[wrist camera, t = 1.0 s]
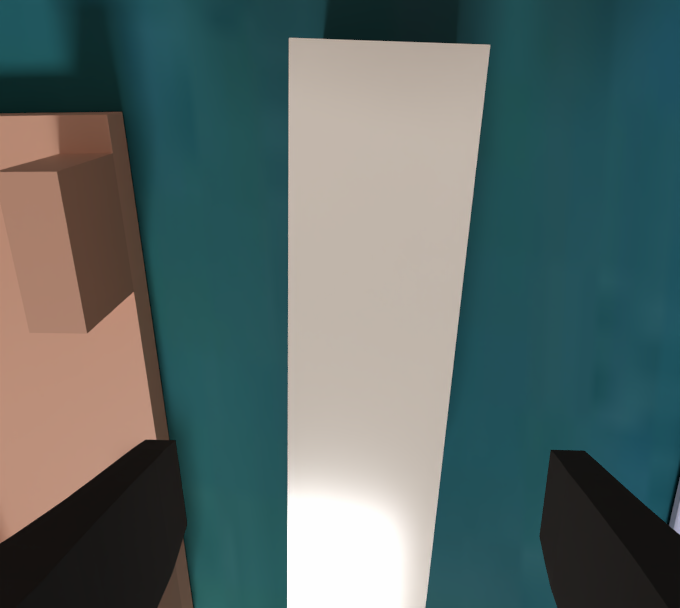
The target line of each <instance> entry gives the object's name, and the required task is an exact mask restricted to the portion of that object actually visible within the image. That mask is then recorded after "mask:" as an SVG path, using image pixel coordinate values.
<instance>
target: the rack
mask: <svg viewBox="0 0 680 608" xmlns="http://www.w3.org/2000/svg"><path fill="white" fill-rule="evenodd" d="M144 440H169V435H168V428H167V421H166V414H165V407H164V400H163V393H162V386H161V379H160V372H159V365H158V358H157V351H156V344H155V337H154V330H153V323H152V316H151V309H150V302H149V296H148V289H147V282H146V275H145V268H144V261H143V254H142V247H141V240H140V233H139V226H138V219H137V212H136V205H135V198H134V191H133V184H132V177H131V170H130V163H129V156H128V149H127V142H126V135H125V128H124V121H123V114H122V112H72V113H0V543H1V542H3V541H5V540H6V539H8V538H9V537H11V536H12V535H14V534H15V533H17V532H18V531H20V530H21V529H23V528H24V527H26V526H27V525H29V524H30V523H31V522H33V521H34V520H36V519H37V518H39V517H40V516H42V515H43V514H45V513H46V512H47V511H49V510H50V509H52V508H53V507H55V506H56V505H58V504H59V503H61V502H62V501H63V500H65V499H66V498H67V497H69V496H70V495H71V494H73V493H74V492H75V491H77V490H78V489H79V488H81V487H82V486H84V485H85V484H86V483H88V482H89V481H90V480H92V479H93V478H94V477H96V476H97V475H98V474H100V473H101V472H102V471H103V470H105V469H106V468H107V467H109V466H110V465H111V464H113V463H114V462H115V461H117V460H118V459H119V458H120V457H122V456H123V455H124V454H126V453H127V452H128V451H130V450H131V449H133V448H134V447H135V446H137V445H138V444H140V443H141V442H143V441H144ZM158 608H193V603H192V596H191V589H190V582H189V575H188V568H187V561H186V554H185V547H184V540H182V544H181V547H180V551H179V554H178V557H177V560H176V564H175V567H174V570H173V573H172V575H171V578H170V580H169V582H168V585H167V587H166V589H165V592H164V594H163V596H162V599H161V601H160V603H159V605H158Z"/></svg>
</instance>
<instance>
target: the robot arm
mask: <svg viewBox="0 0 680 608" xmlns="http://www.w3.org/2000/svg"><path fill="white" fill-rule="evenodd" d="M186 526H187V519H186V512H185V505H184V498H183V491H182V483H181V476H180V469H179V462H178V455H177V448H176V440H144V441H143V442H141V443H140V444H138V445H137V446H135V447H134V448H133V449H131V450H130V451H128V452H127V453H126V454H124V455H123V456H122V457H120V458H119V459H118V460H117V461H115V462H114V463H113V464H111V465H110V466H109V467H107V468H106V469H105V470H103V471H102V472H101V473H100V474H98V475H97V476H96V477H94V478H93V479H92V480H90V481H89V482H88V483H86V484H85V485H84V486H82V487H81V488H79V489H78V490H77V491H75V492H74V493H73V494H71V495H70V496H69V497H67V498H66V499H65V500H63V501H62V502H61V503H59V504H58V505H56V506H55V507H53V508H52V509H50V510H49V511H47V512H46V513H45V514H43V515H42V516H40V517H39V518H37V519H36V520H34V521H33V522H31V523H30V524H29V525H27V526H26V527H24V528H23V529H21V530H20V531H18V532H17V533H15V534H14V535H12V536H11V537H9V538H8V539H6V540H5V541H3V542H1V543H0V608H158V605H159V603H160V601H161V599H162V596H163V594H164V592H165V589H166V587H167V585H168V582H169V580H170V578H171V575H172V573H173V570H174V567H175V564H176V560H177V557H178V554H179V551H180V547H181V544H182V540H183V537H184V533H185V530H186ZM540 541H541V546H542V550H543V555H544V560H545V565H546V569H547V573H548V578H549V582H550V586H551V590H552V593H553V596H554V599H555V602H556V605H557V607H558V608H680V479H679V484H678V488H677V492H676V497H675V501H674V506H673V510H672V514H671V519H670V523H669V525H668V524H666V523H665V522H664V521H663V520H662V519H660V518H659V517H658V516H657V515H656V514H655V513H653V512H652V511H651V510H650V509H649V508H648V507H647V506H645V505H644V504H643V503H642V502H641V501H640V500H639V499H638V498H636V497H635V496H634V495H633V494H632V493H631V492H630V491H629V490H627V489H626V488H625V487H624V486H623V485H622V484H621V483H620V482H619V481H618V480H616V479H615V478H614V477H613V476H612V475H611V474H610V473H609V472H608V471H607V470H605V469H604V468H603V467H602V466H601V465H600V464H599V463H598V462H597V461H596V460H594V459H593V458H592V457H591V456H590V455H589V454H587V453H586V452H585V451H573V450H551V452H550V460H549V468H548V475H547V483H546V491H545V498H544V506H543V514H542V522H541V529H540Z"/></svg>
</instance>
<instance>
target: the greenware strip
mask: <svg viewBox="0 0 680 608" xmlns="http://www.w3.org/2000/svg"><path fill="white" fill-rule="evenodd" d="M489 52H490V45H483V44H454V43H425V42H396V41H368V40H339V39H310V38H289V197H288V574H287V608H425V605H426V597H427V588H428V580H429V571H430V562H431V554H432V545H433V536H434V528H435V519H436V510H437V502H438V493H439V484H440V476H441V467H442V458H443V450H444V441H445V433H446V424H447V415H448V407H449V398H450V389H451V381H452V372H453V363H454V355H455V346H456V337H457V329H458V320H459V311H460V303H461V294H462V285H463V277H464V268H465V260H466V251H467V242H468V234H469V225H470V216H471V208H472V199H473V190H474V182H475V173H476V164H477V156H478V147H479V138H480V130H481V121H482V113H483V104H484V95H485V87H486V78H487V69H488V61H489Z"/></svg>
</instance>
